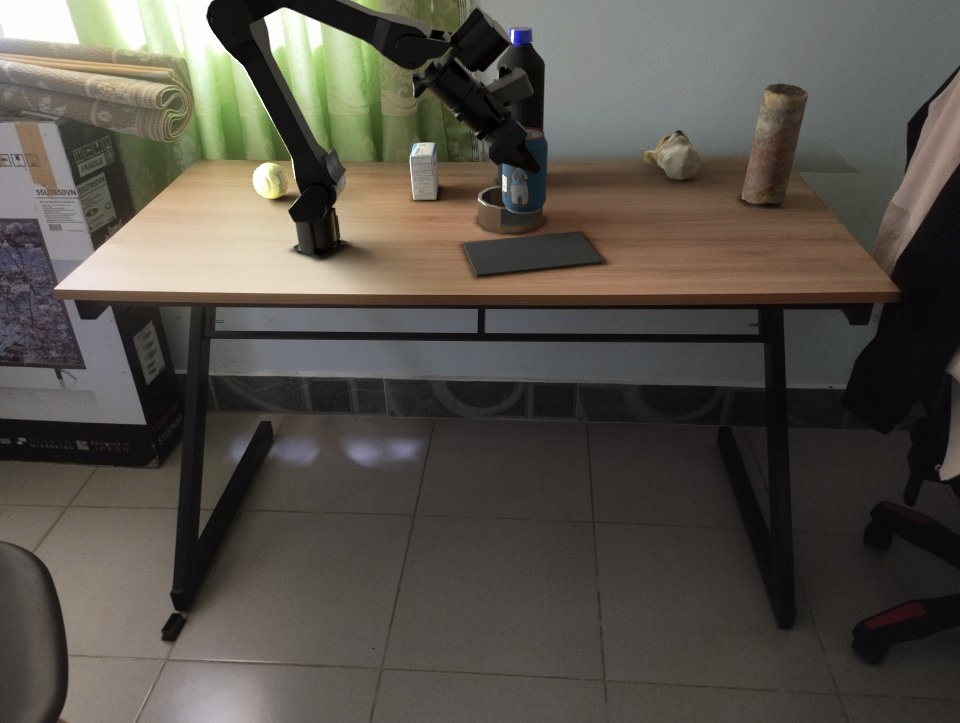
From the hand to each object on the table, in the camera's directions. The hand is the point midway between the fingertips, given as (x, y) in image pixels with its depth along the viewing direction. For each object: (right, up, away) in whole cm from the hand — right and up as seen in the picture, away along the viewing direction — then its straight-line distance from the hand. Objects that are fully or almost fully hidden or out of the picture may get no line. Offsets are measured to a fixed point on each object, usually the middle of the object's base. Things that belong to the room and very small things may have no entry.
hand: (533, 163), depth 116 cm
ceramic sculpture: (+31, +7, +34) cm, 47 cm away
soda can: (-1, -6, +4) cm, 7 cm away
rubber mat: (0, -14, +4) cm, 14 cm away
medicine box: (-19, +1, +27) cm, 33 cm away
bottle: (0, +5, +32) cm, 32 cm away
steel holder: (-3, -6, +15) cm, 17 cm away
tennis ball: (-48, 0, +27) cm, 55 cm away
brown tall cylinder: (+43, -2, +20) cm, 48 cm away
